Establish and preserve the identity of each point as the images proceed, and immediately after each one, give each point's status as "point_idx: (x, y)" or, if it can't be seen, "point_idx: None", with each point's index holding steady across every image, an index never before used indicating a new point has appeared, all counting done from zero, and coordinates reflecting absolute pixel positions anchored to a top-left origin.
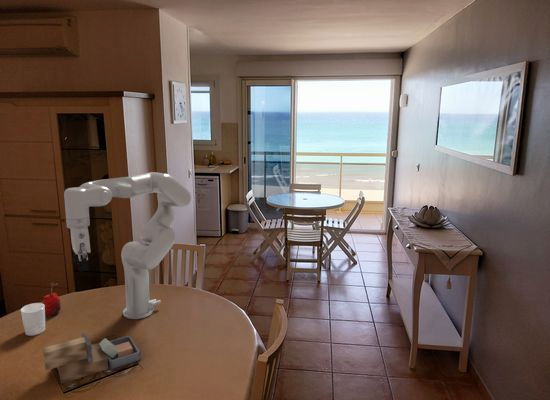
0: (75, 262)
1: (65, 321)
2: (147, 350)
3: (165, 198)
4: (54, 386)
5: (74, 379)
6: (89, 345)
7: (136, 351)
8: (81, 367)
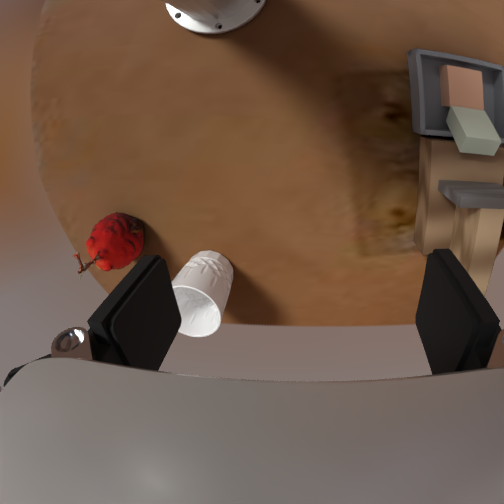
0: (179, 322)
1: (183, 200)
2: (462, 33)
3: None
4: None
5: None
6: None
7: (487, 67)
8: None
